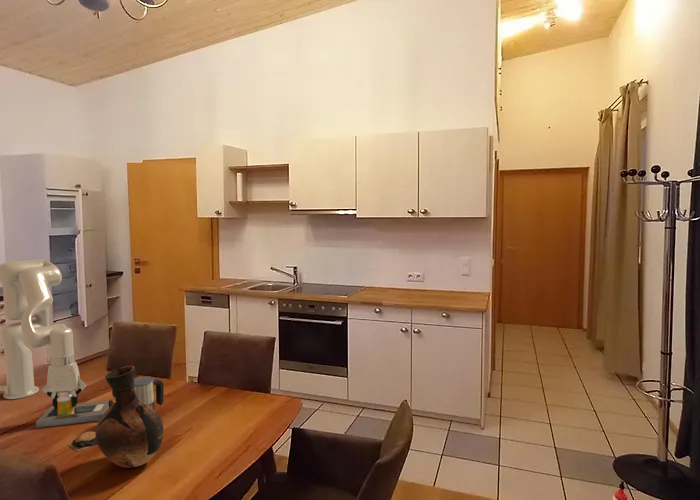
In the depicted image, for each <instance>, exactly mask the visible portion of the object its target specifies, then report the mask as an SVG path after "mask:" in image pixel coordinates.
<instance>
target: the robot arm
mask: <svg viewBox="0 0 700 500" xmlns="http://www.w3.org/2000/svg"><path fill="white" fill-rule="evenodd" d="M62 280H63V276H62V273H61V271H60V269H59V268H58V266H56V265H55V264H54V263H52V262H50V261H49V260H47V259H42V258H41V259H40V258H39V259H27V260H25V259H24V260H23V259H22V260H14V261H12V260H11V261H7V262H2V263H1V264H0V283H1V287H2V290H3V313H4V317H5V318H6V319H7V320H9V321H17V322H12V323H8V324H6V325H4V326H3V327H2V328H1V329H0V339H1V343H2V346H3V351H4V362H5V364H4V365H5V375H6V384H5V385H0V393H3V392H4V393H3V395H2V396H3V398H4V399H6V400H17V399H22V398H27V397H31V396H33V395H35V394H36V393H38V392H39V390H40V388H39V386H36V385H35V377H34V376H35V375H34V365H33V364H34V363H33V352H32V350H31V349H41V348H45V347H48V346H49V350H50V352H49V355H50V357H49V358H46V362H47V363H50V365H49V366H48V368H47V369H48V370H47V376H46V377H47V378H46V384H45V385H44V387H43V388H42V389H41V392H42V393H44V394H46V395H47V396H48V397H49V398H50V399H51V401H52V406H54V409H57V398H58V397H59V392H64V391H71V394H72V395H73V397H72V407H75V406H76V405H77V404H78V403H79V397H78V396H79V394H80V393H81V392H82V391H84V389H86V387H87V384H86V382H84V381H83V380H82V379H81V378H80V377H81V376H80V375H81V374H80V371H79V366H78V364H77V361H75V349H74V347H75V346H74V333H73V330H72V328H71V327H67V326H66V325H65V323H57V324H52V325H50V306H51V305H52V304H53V301H54V298H53V296H52V293H51V290H50V287H56V286H59V285H60V284H61V283H62ZM32 318H34V319H32ZM25 344H26V345H25ZM78 387H79V388H78Z"/></svg>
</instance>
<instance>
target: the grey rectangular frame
mask: <svg viewBox="0 0 700 500" xmlns="http://www.w3.org/2000/svg"><path fill="white" fill-rule="evenodd" d="M109 400H110V399H107V400H99V401H98V400H97V401H90V402H89V401H88V402H78V403H77V405H76V406H75V407H74V414H70V415H65V416H58V409H54V406H53V405H50V407H48V408H47V409H46V410H45V412H44V413H43V414H42V415H41V416H40V417H39V418H38V419H37V420H36V421H35V426H36V429H40V428H49V427H58V426H66V425H75V424H84V423H86V424H87V423H94V422H99V420H100V418H101V416H102V415H103V414H104V412H105V411H106V410H107V409H108V408H109ZM54 415H55V416H54ZM56 415H57V416H56Z"/></svg>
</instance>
